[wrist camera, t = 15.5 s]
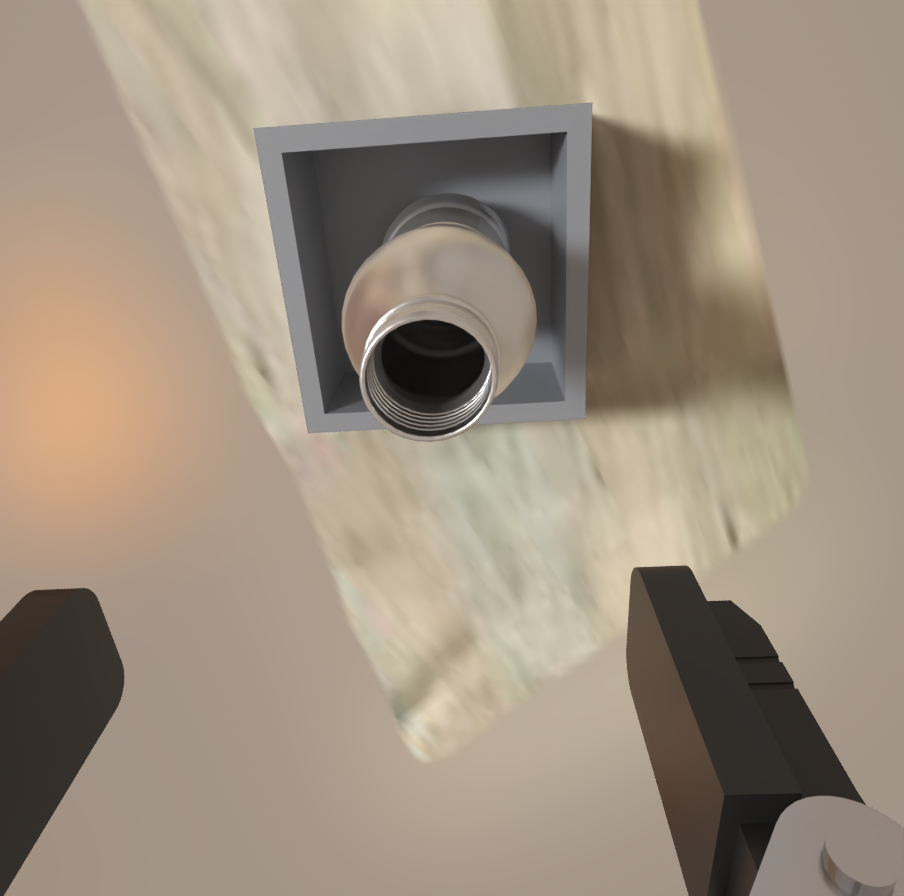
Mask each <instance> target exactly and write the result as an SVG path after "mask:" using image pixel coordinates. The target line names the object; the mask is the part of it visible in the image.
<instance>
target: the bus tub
mask: <svg viewBox="0 0 904 896" xmlns="http://www.w3.org/2000/svg"><path fill="white" fill-rule="evenodd" d="M253 129H254V134H255V140H256V145H257V151H258V156H259V162H260V168H261V173H262V179H263V184H264V190H265V196H266V201H267V207H268V212H269V218H270V223H271V229H272V235H273V240H274V246H275V251H276V257H277V263H278V268H279V274H280V279H281V285H282V290H283V296H284V302H285V307H286V313H287V318H288V324H289V330H290V335H291V341H292V346H293V352H294V357H295V363H296V369H297V374H298V380H299V385H300V391H301V397H302V402H303V408H304V413H305V419H306V425H307V430H308V433H322V432H341V431H361V430H380V429H386V428H385V427H383V426H382V425H381V424H380V423H379V422H378V421H377V420H376V419H375V418H374V417H373V416H372V414H371V413H370V411H369V410H368V408H367V407H366V404H365V402H364V400H363V397H362V394H361V388H360V381H359V375H358V374H357V372H356V371H355V369H354V367H353V365H352V363H351V360H350V358H349V355H348V353H347V351H346V348H345V344H344V339H343V334H342V309H343V305H344V300H345V296H346V292H347V290H348V288H349V285H350V283H351V281H352V279H353V277H354V275H355V274H356V272H357V271H358V269H359V268H360V267H361V265H362V264H363V262H364V261H365V260H366V259H367V258H368V257H369V256H370V255H371V254H372V253H374V252H375V251H376V250H377V249H378V248H379V247H380V246H382V244H383V240H384V237H385V235H386V233H387V231H388V228H389V227H390V225H391V224H392V222H393V221H394V220H395V218H396V217H397V216H398V215H399V214H400V213H401V212H402V211H403V210H404V209H405V208H406V207H408V206H409V205H411V204H412V203H414V202H416V201H417V200H419V199H422V198H425V197H427V196H430V195H434V194H441V193H456V194H462V195H466V196H470V197H473V198H475V199H477V200H479V201H481V202H483V203H484V204H486V205H487V206H488V207H489V208H491V209H492V210H493V211H494V212H495V213H496V214H497V215H498V217H499V218H500V219H501V220H502V221H503V223H504V225H505V227H506V229H507V231H508V233H509V236H510V239H511V243H512V246H513V259H514V260H515V261H516V262H517V264H518V265H519V266H520V267H521V268H522V270H523V272H524V274H525V276H526V278H527V280H528V282H529V283H530V285H531V289H532V292H533V296H534V299H535V303H536V315H537V325H536V332H535V339H534V343H533V345H532V348H531V351H530V354H529V357H528V359H527V360H526V362H525V364H524V365H523V367H522V369H521V370H520V372H519V374H518V375H517V376H516V377H515V378H514V380H513V381H512V382H511V383H510V384H509V385H508V386H507V387H506V389H505V390H504V391H503V392H502V393H500V394H499V395H498V396H496V397H495V398H494V399H493V401H492V403H491V405H490V407H489V408H488V410H487V412H486V413H485V415H484V416H483V417H482V418H481V419H480V420H479V421H478V422H477V423H476V424H496V423H515V422H534V421H554V420H573V419H585V407H586V363H587V319H588V275H589V231H590V187H591V142H592V103H580V104H567V105H554V106H541V107H528V108H514V109H501V110H488V111H475V112H462V113H449V114H436V115H422V116H409V117H396V118H383V119H370V120H357V121H343V122H330V123H317V124H304V125H291V126H278V127H265V128H253ZM476 424H475V425H476Z"/></svg>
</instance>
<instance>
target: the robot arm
mask: <svg viewBox="0 0 904 896" xmlns="http://www.w3.org/2000/svg"><path fill="white" fill-rule="evenodd" d="M626 656H627V671H628V679H629V684H630V689H631V694H632V697H633V701H634V705H635V708H636V711H637V715H638V719H639V722H640V726H641V729H642V733H643V736H644V740H645V743H646V747H647V750H648V753H649V757H650V761H651V764H652V768H653V771H654V775H655V778H656V782H657V785H658V789H659V792H660V796H661V799H662V803H663V807H664V810H665V814H666V817H667V820H668V824H669V828H670V831H671V835H672V838H673V842H674V845H675V849H676V852H677V856H678V859H679V862H680V866H681V869H682V874H683V877H684V880H685V884H686V888H687V891H688V894H689V896H904V828H903V827H902V826H901V825H900V824H898V823H897V822H895V821H894V820H892V819H891V818H889V817H888V816H886V815H885V814H883V813H881V812H879V811H877V810H875V809H873V808H871V807H868V806H867V805H866V804H865V803H864V801H863V800H862V798H861V797H860V795H859V794H858V792H857V791H856V789H855V787H854V785H853V784H852V782H851V780H850V778H849V777H848V775H847V773H846V771H845V770H844V768H843V766H842V765H841V763H840V761H839V759H838V758H837V756H836V754H835V753H834V751H833V749H832V747H831V746H830V744H829V742H828V740H827V739H826V737H825V735H824V734H823V732H822V730H821V728H820V727H819V725H818V723H817V722H816V720H815V718H814V716H813V715H812V713H811V711H810V710H809V708H808V706H807V705H806V703H805V701H804V699H803V697H802V696H801V694H800V692H799V690H798V689H795V688H794V684H793V680H792V678H791V677H790V675H789V673H788V672H787V670H786V668H785V666H784V665H783V663H782V662H779V659H778V654H777V653H776V651H775V649H774V647H773V646H772V644H771V642H770V641H769V639H768V637H767V635H766V634H765V632H764V630H763V629H762V627H761V625H759V624H758V623H757V622H756V621H755V620H754V619H752V618H751V617H750V616H749V615H748V614H746V613H745V612H744V611H742V609H740V608H739V607H738V606H737V605H735V604H734V603H733V602H732V601H730V600H729V601H707V600H706V598H705V596H704V594H703V592H702V590H701V588H700V586H699V584H698V582H697V580H696V578H695V576H694V574H693V572H692V570H691V569H690V568H689V567H688V566H661V567H636V568H634V569H633V571H632V575H631V584H630V600H629V616H628V631H627V648H626ZM123 687H124V669H123V664H122V661H121V659H120V656H119V653H118V651H117V648H116V645H115V643H114V640H113V638H112V635H111V632H110V630H109V627H108V624H107V622H106V619H105V616H104V614H103V611H102V609H101V606H100V604H99V601H98V599H97V597H96V595H95V594H94V593H93V592H92V591H91V590H89V589H86V588H76V589H53V590H34V591H32V592H30V593H28V594H26V595H25V596H24V597H23V598H22V599H21V600H20V601H19V602H18V603H17V604H16V605H15V607H14V608H13V609H12V610H11V611H10V612H9V613H8V614H7V615H6V616H5V617H4V618H3V620H1V621H0V896H4V894H5V892H6V891H7V889H8V888H9V886H10V884H11V883H12V881H13V879H14V878H15V876H16V874H17V873H18V871H19V869H20V868H21V866H22V864H23V863H24V861H25V859H26V858H27V856H28V854H29V853H30V851H31V850H32V848H33V846H34V844H35V843H36V841H37V839H38V838H39V836H40V834H41V833H42V831H43V829H44V828H45V826H46V825H47V823H48V821H49V820H50V818H51V816H52V815H53V813H54V811H55V810H56V808H57V806H58V805H59V803H60V801H61V800H62V798H63V797H64V795H65V793H66V792H67V790H68V788H69V787H70V785H71V783H72V782H73V780H74V778H75V777H76V775H77V773H78V771H79V770H80V768H81V767H82V765H83V763H84V762H85V760H86V758H87V757H88V755H89V753H90V752H91V750H92V748H93V747H94V745H95V744H96V742H97V740H98V738H99V737H100V735H101V734H102V732H103V730H104V729H105V727H106V725H107V724H108V722H109V720H110V719H111V717H112V715H113V713H114V712H115V710H116V709H117V707H118V705H119V702H120V700H121V696H122V692H123Z"/></svg>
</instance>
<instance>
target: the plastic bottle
mask: <svg viewBox="0 0 904 896" xmlns="http://www.w3.org/2000/svg"><path fill="white" fill-rule="evenodd" d="M536 325H537V315H536V303H535V299H534V296H533V292H532V289H531V285H530V283H529V282H528V280H527V278H526V276H525V274H524V272H523V270H522V268H521V267H520V266H519V265H518V264H517V262H516V261H515V260H514V259H513V246H512V243H511V239H510V236H509V233H508V231H507V229H506V227H505V225H504V223H503V221H502V220H501V219H500V218H499V217H498V215H497V214H496V213H495V212H494V211H493V210H492V209H491V208H489V207H488V206H487V205H486V204H484V203H483V202H481V201H479V200H477V199H475V198H473V197H470V196H466V195H462V194H456V193H441V194H434V195H430V196H427V197H425V198H422V199H419V200H417V201H416V202H414V203H412V204H411V205H409V206H408V207H406V208H405V209H404V210H403V211H402V212H401V213H400V214H399V215H398V216H397V217H396V218H395V220H394V221H393V222H392V224H391V225H390V227H389V228H388V231H387V233H386V235H385V237H384V240H383V244H382V246H380V247H379V248H378V249H377V250H376V251H375V252H374V253H372V254H371V255H370V256H369V257H368V258H367V259H366V260H365V261H364V262H363V264H362V265H361V267H360V268H359V269H358V271H357V272H356V274H355V275H354V277H353V279H352V281H351V283H350V285H349V288H348V290H347V292H346V296H345V300H344V305H343V309H342V334H343V339H344V344H345V348H346V351H347V353H348V355H349V358H350V360H351V363H352V365H353V367H354V369H355V371H356V372H357V374H358V375H359V381H360V388H361V394H362V397H363V400H364V402H365V404H366V407H367V408H368V410H369V411H370V413H371V414H372V416H373V417H374V418H375V419H376V420H377V421H378V422H379V423H380V424H381V425H382V426H383V427H385V428H386V429H388V430H389V431H391V432H392V433H394V434H397V435H399V436H401V437H404V438H407V439H411V440H415V441H427V442H432V441H440V440H445V439H449V438H452V437H455V436H457V435H459V434H461V433H463V432H465V431H467V430H468V429H470V428H471V427H472V426H474V425H475V424H476V423H477V422H478V421H479V420H480V419H481V418H482V417H483V416H484V415H485V413H486V412H487V410H488V408H489V407H490V405H491V403H492V401H493V399H494V398H495V397H496V396H498V395H499V394H500V393H502V392H503V391H504V390H505V389H506V387H507V386H508V385H509V384H510V383H511V382H512V381H513V380H514V378H515V377H516V376H517V375H518V374H519V372H520V370H521V369H522V367H523V365H524V364H525V362H526V360H527V359H528V357H529V354H530V351H531V348H532V345H533V343H534V339H535V332H536Z"/></svg>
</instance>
